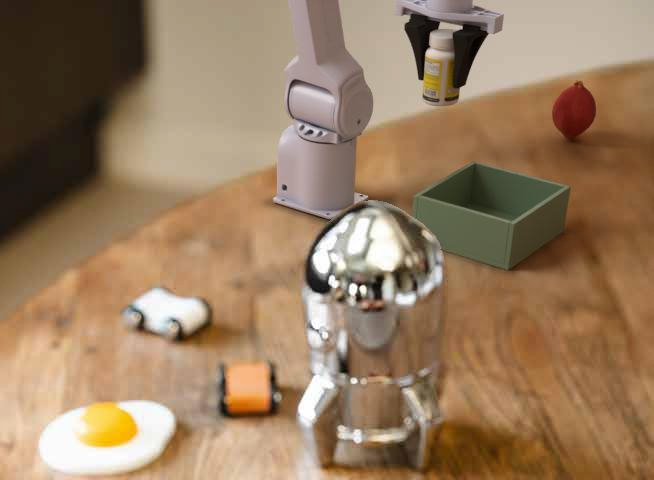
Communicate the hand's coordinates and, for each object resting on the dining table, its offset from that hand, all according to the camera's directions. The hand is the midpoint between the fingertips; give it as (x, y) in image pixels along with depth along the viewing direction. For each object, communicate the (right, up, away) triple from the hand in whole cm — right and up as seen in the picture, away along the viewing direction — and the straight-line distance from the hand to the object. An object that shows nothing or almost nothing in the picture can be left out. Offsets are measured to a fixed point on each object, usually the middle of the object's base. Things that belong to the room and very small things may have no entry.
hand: (442, 82), depth 156 cm
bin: (+3, -24, -13) cm, 27 cm away
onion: (+19, -4, +11) cm, 23 cm away
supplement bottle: (0, -2, +2) cm, 3 cm away
